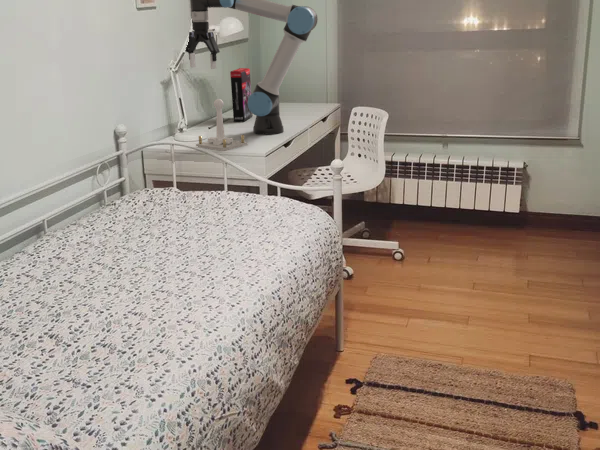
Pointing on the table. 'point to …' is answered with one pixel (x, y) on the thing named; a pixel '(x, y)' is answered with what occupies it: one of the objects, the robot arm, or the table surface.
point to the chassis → (224, 145)
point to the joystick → (219, 125)
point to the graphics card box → (241, 94)
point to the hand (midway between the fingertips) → (203, 68)
